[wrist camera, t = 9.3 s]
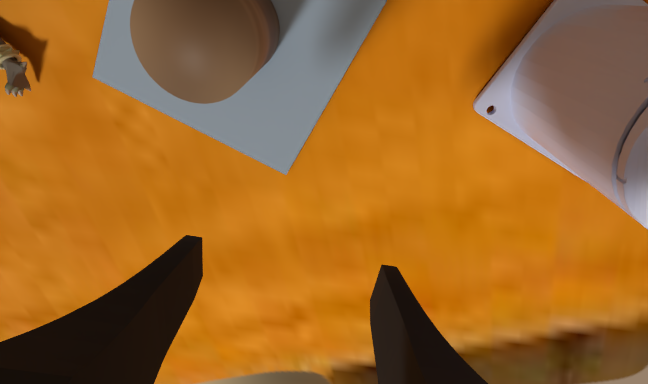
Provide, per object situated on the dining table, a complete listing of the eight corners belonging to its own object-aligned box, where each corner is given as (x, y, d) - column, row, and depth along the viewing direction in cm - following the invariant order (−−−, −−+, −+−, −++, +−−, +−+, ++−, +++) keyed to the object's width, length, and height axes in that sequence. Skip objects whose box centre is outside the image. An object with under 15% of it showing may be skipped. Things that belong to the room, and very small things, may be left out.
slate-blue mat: (396, -19, 17) (397, -19, 17) (286, 172, 22) (285, 174, 22) (155, -187, 14) (150, -191, 14) (96, 75, 20) (92, 77, 20)
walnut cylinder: (294, 7, 17) (275, 14, 12) (258, 88, 19) (228, 123, 14) (208, -45, 16) (147, -61, 11) (180, 46, 19) (117, 67, 13)
